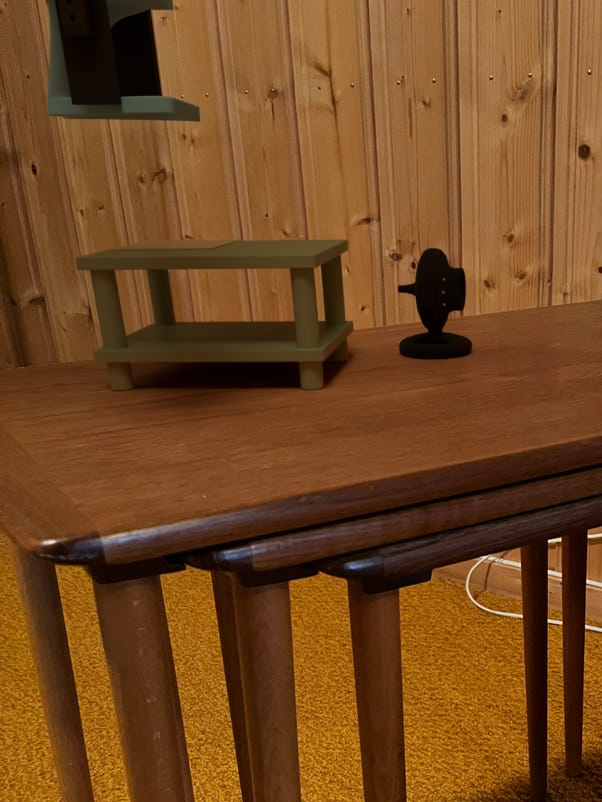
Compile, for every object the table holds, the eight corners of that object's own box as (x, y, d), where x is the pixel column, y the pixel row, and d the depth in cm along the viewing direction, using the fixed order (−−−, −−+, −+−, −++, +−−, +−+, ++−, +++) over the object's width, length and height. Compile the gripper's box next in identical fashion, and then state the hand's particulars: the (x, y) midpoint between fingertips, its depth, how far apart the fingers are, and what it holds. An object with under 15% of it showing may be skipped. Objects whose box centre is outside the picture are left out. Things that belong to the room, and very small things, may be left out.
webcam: (464, 360, 96) (462, 251, 91) (391, 358, 97) (385, 251, 93) (478, 346, 103) (477, 244, 98) (409, 345, 104) (405, 244, 100)
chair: (76, 122, 65) (41, -99, 60) (202, 122, 65) (178, -98, 60) (33, 114, 58) (-11, -137, 53) (174, 113, 58) (144, -136, 53)
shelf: (99, 391, 85) (74, 256, 80) (161, 357, 99) (143, 240, 95) (326, 391, 84) (314, 253, 79) (355, 356, 99) (347, 238, 94)
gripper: (29, -509, 42) (119, 99, 52) (178, -315, 60) (223, 112, 70) (-139, -503, 42) (-17, 100, 53) (58, -312, 60) (121, 112, 70)
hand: (120, 106), depth 61 cm, fingers closed on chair, 7 cm apart
